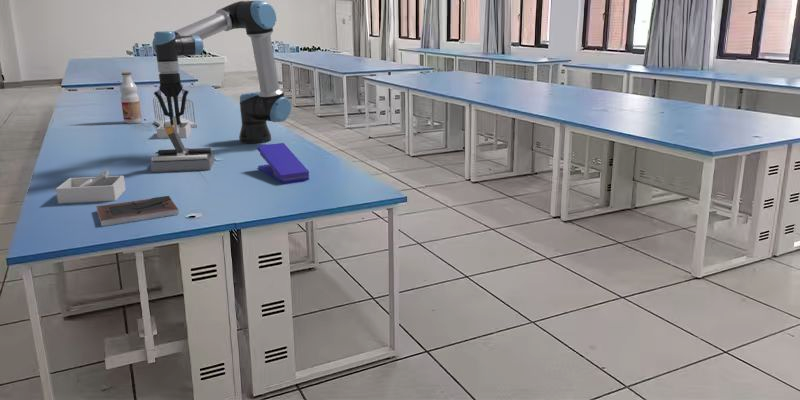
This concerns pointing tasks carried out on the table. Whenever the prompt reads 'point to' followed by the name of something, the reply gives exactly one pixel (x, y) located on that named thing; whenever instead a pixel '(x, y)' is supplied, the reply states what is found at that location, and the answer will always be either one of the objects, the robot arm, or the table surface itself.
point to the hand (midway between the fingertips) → (176, 133)
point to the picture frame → (136, 210)
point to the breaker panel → (183, 163)
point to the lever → (175, 139)
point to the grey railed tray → (177, 158)
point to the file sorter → (159, 122)
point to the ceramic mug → (170, 124)
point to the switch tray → (90, 190)
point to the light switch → (96, 180)
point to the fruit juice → (130, 100)
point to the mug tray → (182, 131)
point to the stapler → (282, 163)
